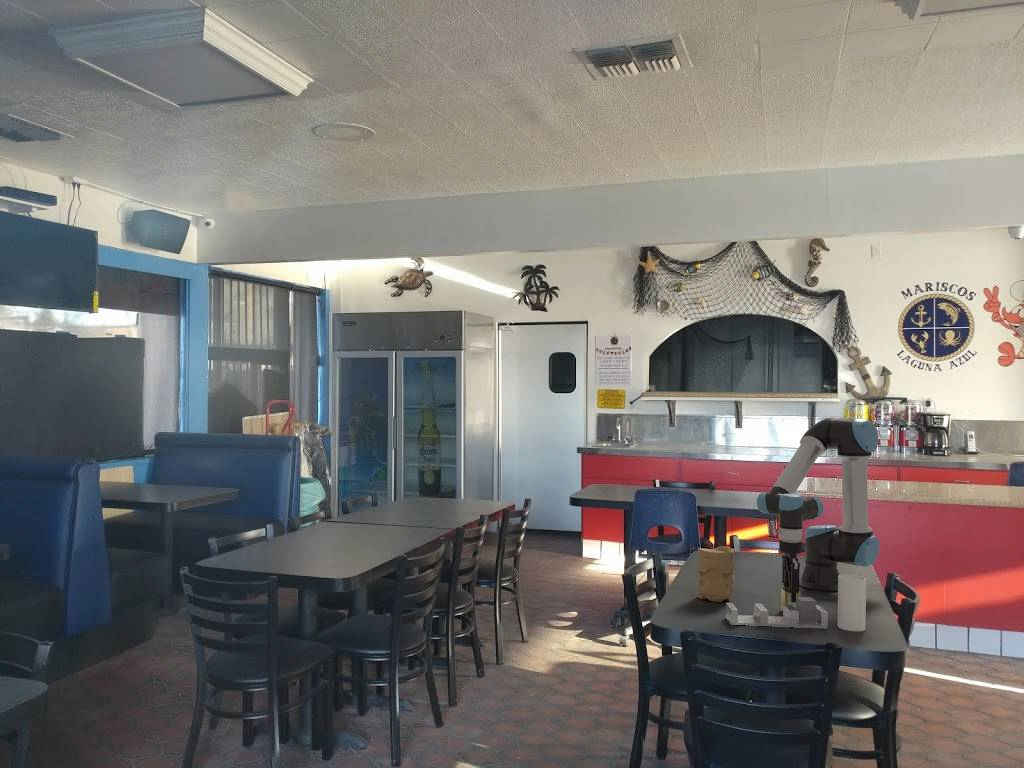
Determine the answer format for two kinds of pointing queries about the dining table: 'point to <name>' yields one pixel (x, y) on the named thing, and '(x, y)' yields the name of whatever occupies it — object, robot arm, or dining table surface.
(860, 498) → the robot arm
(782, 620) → the white slotted rack
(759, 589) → the dining table surface
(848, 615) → the cup
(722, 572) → the container
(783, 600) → the tan wooden cube
